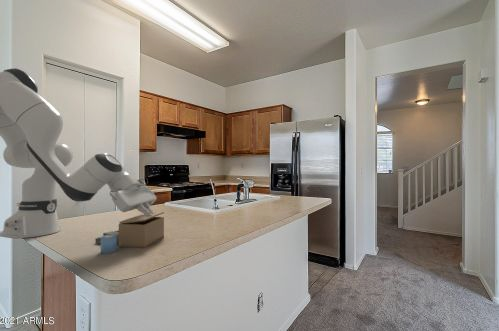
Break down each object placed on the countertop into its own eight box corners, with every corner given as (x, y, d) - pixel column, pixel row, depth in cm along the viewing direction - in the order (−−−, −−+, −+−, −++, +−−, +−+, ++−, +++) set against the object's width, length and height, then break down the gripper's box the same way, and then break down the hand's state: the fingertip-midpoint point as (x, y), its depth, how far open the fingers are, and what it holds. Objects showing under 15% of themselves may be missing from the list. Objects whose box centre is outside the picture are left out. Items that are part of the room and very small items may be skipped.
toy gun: (127, 224, 117) (156, 223, 113) (127, 231, 116) (156, 230, 113) (79, 238, 92) (114, 237, 89) (80, 247, 92) (115, 247, 89)
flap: (119, 223, 89) (119, 221, 89) (142, 215, 103) (142, 213, 103) (144, 220, 88) (144, 218, 88) (164, 213, 102) (163, 211, 102)
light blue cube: (97, 253, 82) (97, 237, 82) (107, 248, 87) (107, 234, 87) (110, 254, 82) (110, 238, 82) (120, 249, 86) (120, 234, 86)
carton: (118, 246, 89) (118, 224, 89) (141, 235, 103) (141, 216, 103) (144, 247, 88) (144, 224, 88) (163, 236, 102) (163, 216, 102)
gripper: (113, 184, 86) (139, 213, 85) (145, 180, 106) (167, 204, 105) (101, 197, 87) (127, 226, 85) (136, 191, 107) (157, 214, 105)
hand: (150, 214), depth 95 cm, fingers closed, pressing on flap
